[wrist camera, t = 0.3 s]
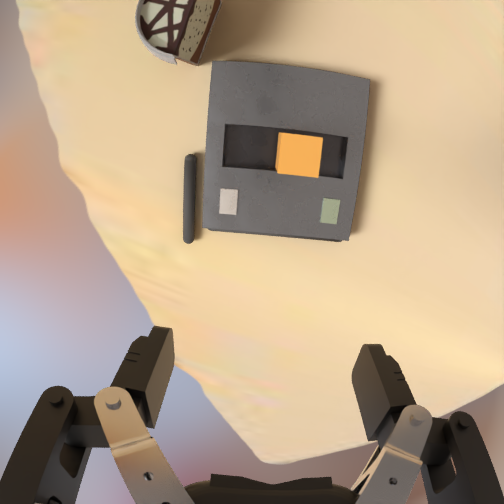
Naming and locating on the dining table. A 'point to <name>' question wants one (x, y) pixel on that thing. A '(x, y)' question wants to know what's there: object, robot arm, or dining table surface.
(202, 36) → the food container
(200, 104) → the dining table surface
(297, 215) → the panel
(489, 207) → the dining table surface
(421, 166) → the dining table surface
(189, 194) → the grey rod
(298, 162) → the lever
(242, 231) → the cord
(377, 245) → the dining table surface
